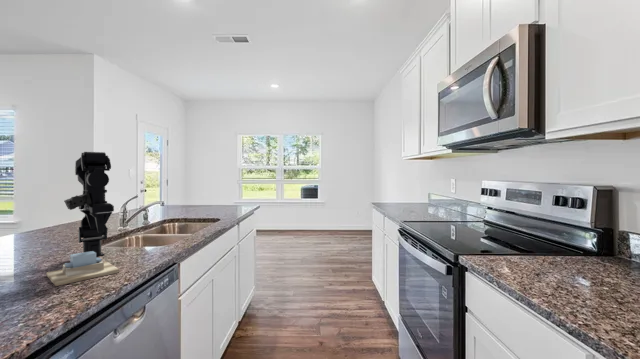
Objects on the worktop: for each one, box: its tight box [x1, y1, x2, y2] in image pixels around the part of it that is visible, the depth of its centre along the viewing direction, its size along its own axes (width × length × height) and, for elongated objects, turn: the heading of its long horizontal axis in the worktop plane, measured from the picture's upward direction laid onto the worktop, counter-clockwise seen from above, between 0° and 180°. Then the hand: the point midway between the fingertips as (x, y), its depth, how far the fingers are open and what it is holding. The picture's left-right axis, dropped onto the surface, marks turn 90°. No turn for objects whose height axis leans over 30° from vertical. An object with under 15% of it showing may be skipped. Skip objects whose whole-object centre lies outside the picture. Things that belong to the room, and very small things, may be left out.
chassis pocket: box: [46, 260, 120, 287], centre depth 98 cm, size 14×16×3 cm
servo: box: [63, 251, 103, 268], centre depth 98 cm, size 4×9×6 cm, turn 140°
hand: (96, 230), depth 109 cm, fingers open, 9 cm apart
